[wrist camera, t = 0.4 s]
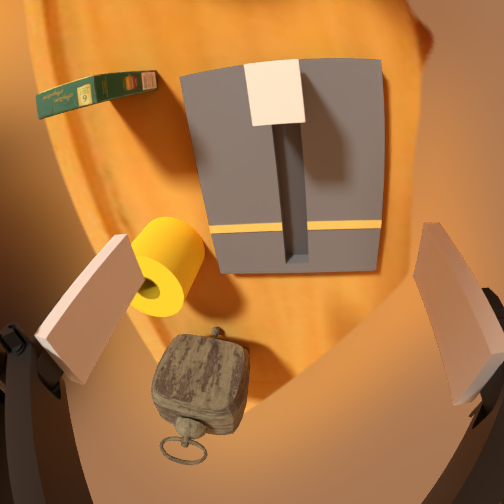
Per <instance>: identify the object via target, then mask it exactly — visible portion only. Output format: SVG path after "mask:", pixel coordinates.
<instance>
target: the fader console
mask: <svg viewBox="0 0 504 504" xmlns="http://www.w3.org/2000/svg"><path fill="white" fill-rule="evenodd" d="M299 64H300V72H301V80H302V89H303V99H304V108H305V119H306V122H302V123H285V124H272V125H260V126H253V125H252V118H251V111H250V104H249V97H248V90H247V83H246V77H245V70H244V65H239V66H233V67H227V68H221V69H215V70H210V71H205V72H200V73H195V74H190V75H186V76H182V77H180V82H181V88H182V93H183V99H184V104H185V110H186V115H187V120H188V126H189V131H190V136H191V141H192V146H193V151H194V156H195V161H196V166H197V170H198V175H199V180H200V185H201V189H202V194H203V199H204V203H205V208H206V212H207V217H208V221H209V228H210V233H211V235H212V239H213V243H214V248H215V252H216V256H217V260H218V265H219V269H220V273H221V274H249V273H310V272H349V271H376V265H377V258H378V249H379V240H380V230H381V224H382V220H381V219H382V206H383V189H384V163H385V119H384V94H383V78H382V66H381V60H376V59H353V58H321V59H299Z"/></svg>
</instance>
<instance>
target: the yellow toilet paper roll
mask: <svg viewBox="0 0 504 504" xmlns="http://www.w3.org/2000/svg"><path fill="white" fill-rule="evenodd" d="M131 246H132V249H133V251H134V254H135V256H136V259H137V261H138V264H139V266H140V269H141V271H142V274H143V276H144V278H145V281H144V282H143V284H142V285H141V287H140V289H139V290H138V292H137V293H136V295H135V297H134V298H133V300H132V302H131V303H130V305H131V306H133V307H134V308H136V309H137V310H139V311H141V312H143V313H145V314H148V315H152V316H157V317H166V316H171V315H173V314H175V313H177V312H178V311H179V310H180V309H181V307H182V305H183V303H184V301H185V299H186V297H187V295H188V292H189V290H190V288H191V286H192V284H193V282H194V280H195V277H196V275H197V273H198V271H199V269H200V267H201V265H202V263H203V261H204V257H205V248H204V244H203V241H202V239H201V237H200V236H199V234H198V233H197V232H196V230H195V229H194V228H193V227H191V226H190V225H189V224H187V223H186V222H184V221H182V220H180V219H177V218H173V217H160V218H157V219H154V220H153V221H151V222H150V223H149V224H148V225H147V226H146V227H145V228H144V229H143V231H142V232H141V233H140V234H139V235H138V236H137V238H136V239H135V240H134V241H133V242H132V244H131Z"/></svg>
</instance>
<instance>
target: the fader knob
mask: <svg viewBox="0 0 504 504" xmlns="http://www.w3.org/2000/svg"><path fill="white" fill-rule="evenodd" d="M244 70H245V77H246V83H247V90H248V97H249V104H250V111H251V118H252V125H253V126H260V125H272V124H285V123H302V122H306V119H305V108H304V99H303V89H302V80H301V72H300V64H299V59H288V60H276V61H266V62H257V63H249V64H244Z"/></svg>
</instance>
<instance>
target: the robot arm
mask: <svg viewBox="0 0 504 504" xmlns="http://www.w3.org/2000/svg"><path fill="white" fill-rule="evenodd" d="M414 279H415V281H416V284H417V286H418V289H419V292H420V294H421V297H422V300H423V302H424V305H425V308H426V311H427V314H428V316H429V319H430V322H431V325H432V328H433V331H434V334H435V338H436V341H437V344H438V347H439V351H440V354H441V357H442V361H443V364H444V368H445V372H446V376H447V380H448V383H449V387H450V391H451V396H452V401H453V405H454V406H455V405H459V404H463V403H468V402H472V401H473V400H474V399H475V398H476V396H477V395H478V394H479V393H481V397H482V401H481V402H480V404H479V405H478V406H477V407H476V408H475V409H474V410H473V411H472V412H471V414H470V415H469V417H472V416H473V415H474V414H475V415H474V417H473V419H472V421H471V423H470V425H469V427H468V429H467V431H466V433H465V435H464V437H463V439H462V441H461V443H460V444H459V446H458V448H457V450H456V452H455V453H454V455H453V457H452V459H451V460H450V462H449V463H448V465H447V467H446V468H445V470H444V472H443V473H442V475H441V476H440V478H439V479H438V481H437V482H436V484H435V485H434V487H433V488H432V490H431V491H430V492H429V494H428V495H427V497H426V498H425V499H424V501H423V502H422V504H500V503H501V504H504V307H503V305H502V303H501V301H500V299H499V298H498V296H497V295H496V294H495V293H494V292H492V290H490V289H489V288H481V287H480V286H479V284H478V282H477V280H476V279H475V277H474V275H473V273H472V272H471V270H470V268H469V267H468V265H467V264H466V262H465V260H464V259H463V257H462V255H461V254H460V252H459V251H458V249H457V248H456V246H455V245H454V243H453V242H452V240H451V239H450V237H449V236H448V234H447V233H446V231H445V230H444V229H443V227H442V226H441V224H440V223H424V225H423V231H422V236H421V242H420V247H419V252H418V257H417V263H416V266H415V271H414ZM144 281H145V278H144V276H143V274H142V271H141V269H140V266H139V264H138V261H137V259H136V256H135V254H134V251H133V249H132V246H131V243H130V241H129V238H128V235H127V234H122V235H114V236H113V238H112V239H111V240H110V241H109V242H108V243H107V244H106V245H105V246H104V248H103V249H102V250H101V251H100V252H99V253H98V254H97V255H96V257H95V258H94V259H93V260H92V261H91V263H90V264H89V265H88V266H87V267H86V268H85V269H84V271H83V272H82V273H81V274H80V275H79V277H78V278H77V279H76V280H75V282H74V283H73V284H72V285H71V287H70V288H69V289H68V290H67V291H66V293H65V294H64V295H63V296H62V297H61V298H60V299H59V300H58V301H57V302H56V304H55V305H54V307H53V309H51V310H50V312H49V313H48V315H47V316H46V317H45V318H44V320H43V321H42V323H41V324H40V325H39V327H38V328H37V329H36V331H35V332H34V334H33V335H32V337H31V338H30V339H29V338H28V337H27V336H26V334H25V333H24V331H23V330H22V329H21V327H20V326H19V325H18V324H17V323H15V322H13V323H10V324H8V325H7V326H5V327H4V328H3V329H2V330H1V331H0V382H1V383H2V384H3V385H4V386H5V393H4V392H3V391H2V390H1V389H0V504H93V501H92V498H91V496H90V492H89V490H88V486H87V483H86V480H85V477H84V473H83V470H82V466H81V463H80V459H79V455H78V451H77V447H76V443H75V438H74V433H73V429H72V424H71V419H70V413H69V407H68V401H67V394H66V387H65V382H64V380H63V379H62V378H61V376H62V374H63V373H65V374H66V375H67V376H68V377H69V379H70V380H71V381H73V382H77V383H79V384H82V385H85V383H86V381H87V379H88V377H89V375H90V373H91V371H92V369H93V368H94V366H95V364H96V362H97V360H98V358H99V357H100V355H101V353H102V351H103V349H104V348H105V346H106V344H107V342H108V340H109V339H110V337H111V335H112V334H113V332H114V330H115V328H116V327H117V325H118V323H119V321H120V320H121V318H122V317H123V315H124V313H125V312H126V310H127V308H128V307H129V305H130V303H131V302H132V300H133V298H134V297H135V295H136V293H137V292H138V290H139V289H140V287H141V285H142V284H143V282H144ZM501 501H502V502H501Z"/></svg>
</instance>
